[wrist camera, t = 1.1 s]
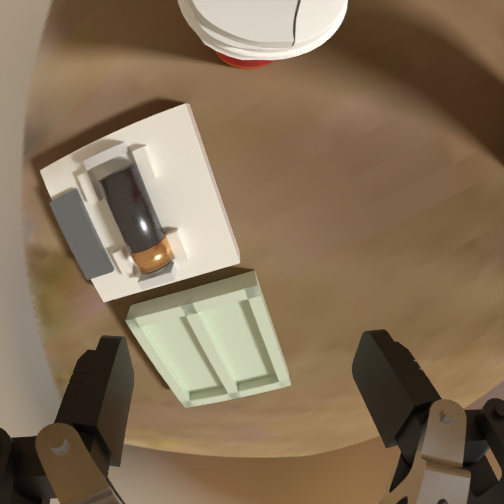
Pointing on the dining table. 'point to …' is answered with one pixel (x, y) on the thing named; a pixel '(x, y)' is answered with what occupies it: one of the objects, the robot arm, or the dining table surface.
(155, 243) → the cell
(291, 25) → the paper cup
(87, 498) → the robot arm
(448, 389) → the dining table surface
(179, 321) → the tray
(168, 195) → the white battery holder
